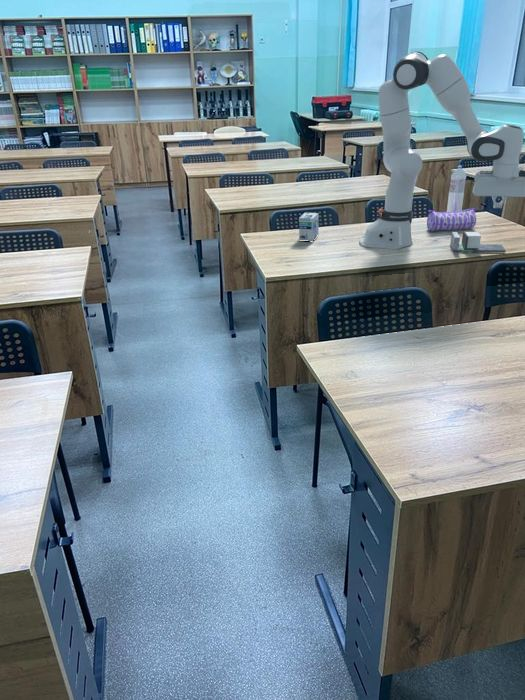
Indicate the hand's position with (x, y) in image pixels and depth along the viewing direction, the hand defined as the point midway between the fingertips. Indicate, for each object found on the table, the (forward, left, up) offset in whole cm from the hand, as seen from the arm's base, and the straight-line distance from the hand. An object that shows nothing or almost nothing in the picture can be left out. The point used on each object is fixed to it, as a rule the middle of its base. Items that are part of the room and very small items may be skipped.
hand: (497, 207), depth 204 cm
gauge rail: (-5, 0, -17) cm, 18 cm away
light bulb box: (-75, +14, -17) cm, 78 cm away
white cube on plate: (-8, 0, -15) cm, 17 cm away
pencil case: (-11, +31, -17) cm, 37 cm away
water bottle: (-7, +51, -17) cm, 54 cm away
